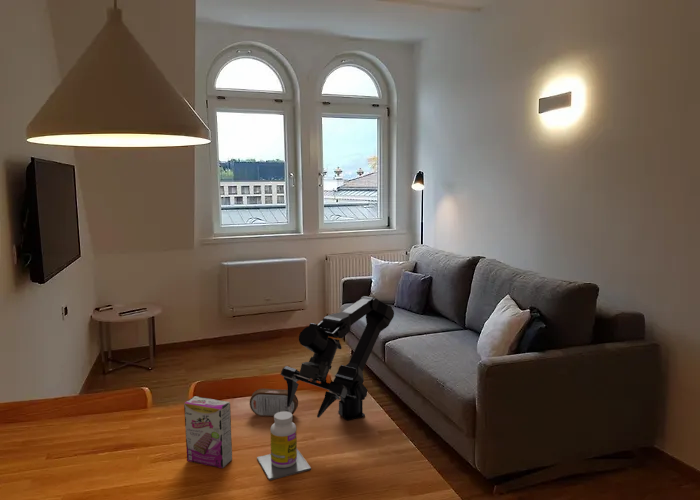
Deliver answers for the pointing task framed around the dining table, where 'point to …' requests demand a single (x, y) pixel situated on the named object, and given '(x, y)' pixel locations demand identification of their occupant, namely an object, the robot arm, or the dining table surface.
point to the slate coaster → (277, 472)
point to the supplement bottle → (283, 440)
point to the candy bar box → (208, 431)
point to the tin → (271, 402)
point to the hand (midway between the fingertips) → (302, 412)
